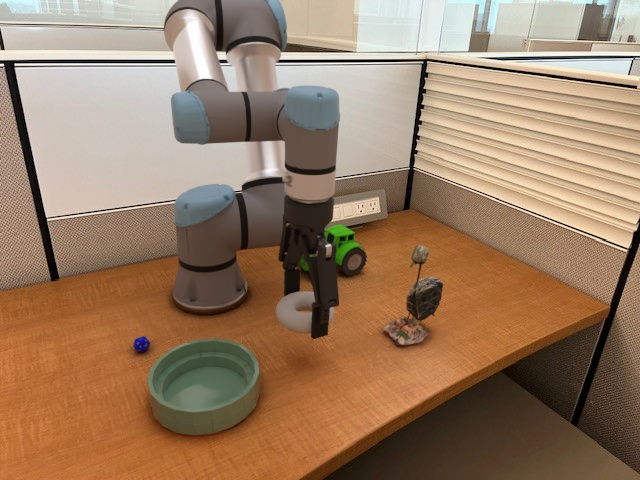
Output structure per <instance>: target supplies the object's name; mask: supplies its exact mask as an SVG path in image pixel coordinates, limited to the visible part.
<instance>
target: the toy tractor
mask: <svg viewBox="0 0 640 480" xmlns="http://www.w3.org/2000/svg"><path fill="white" fill-rule="evenodd" d="M325 236H326V241H327V242H328V243H329V244H330V243H335V244H336V258H335V259H336V266H337V268H338V269H339V270H340V271H341V272H342V273H344V275H347V276H349V277H350V276H352V277H353V276H354V275H355V276H356V275H358V273H360V272H361V271H362V270H364V267H365V266H366V263H367V261H368V259H367V258H368V255H367V253H366V248H365V247H364V246H363V245H362V244H363V241H362V240H361V239H359V240H358V243H357V242H355V241H356V232H355V231H353V230H351V229H350V228H348V227H346V226H345V225H343V224H341V223H339V224H336V225H331V226H330V227H328V228H327V229H326V228H325ZM315 256H317V254H313V255H310V257H315ZM300 263H301V265H300V267H298V268H299V269H300V270H301V271H304V272H305V271H306V272H308V275H310V272H309V267H308V264H307V263H306V262H305V261H304V257H303V256H302V258H301V260H300Z"/></svg>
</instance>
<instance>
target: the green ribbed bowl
mask: <svg viewBox="0 0 640 480" xmlns="http://www.w3.org/2000/svg"><path fill="white" fill-rule="evenodd" d="M260 383H261V382H260V365H259V360H258V359H257V357H256V356H255V354H254V352H253V351H252V350H250V349H249V348H248V347H246V346H245V345H244V344H241V343H238V342H235V341H233V340H230V339H223V338H215V337H214V338H200V339H195V340H192V341H187V342H184V343H181V344H180V345H177V346H175V347H172V348H171V349H169V350H166V352H165V353H163V354H162V355H161V356H160V357H159V358H157V359H156V360H155V362H154V364H153V365H152V366H151V368H150V370H149V371H148V376H147V381H146V385H147V392H148V398H149V399H148V400H149V405H150V409H151V413H152V416H153V418H155V420H156V421H157V422H158V423H159V424H160V425H161V426H162V427H163V428H166V429H168V430H169V431H172V432H174V433H175V434H182V435H188V436H189V435H190V436H202V435H213V434H216V433H219V432H222V431H225V430H227V429H228V430H229V429H231V428H233V427H235V426H236V425H238V424H239V423H240V422H242V421H243V420H245V419H246V418H247V417H248V416H249V415H250V414H251V412H252V411H254V409H255V408H256V406H257V403H258V401H259V397H260V395H261V390H260V389H261V388H260Z"/></svg>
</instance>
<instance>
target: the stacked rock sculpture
mask: <svg viewBox="0 0 640 480" xmlns="http://www.w3.org/2000/svg"><path fill="white" fill-rule="evenodd" d="M429 254H430V250H429V248H428V246H424V245H423V244H419V245H418V244H417V245H416V246H415V247H414V249H413V251H412V254H411V261H412V262H411V263H410V265H409V268H410V269H412V268H413V267H414V265H419V266H418V272H417V277H416V281H415V282H414V284H413V285H412V286H411V288H410V290H409V292H408V293H407V296H406V302H405V303H406V307H405V308H406V310H407V312H408V315H407V317H400V318H397V319H394V321H391V322H389V323H388V325H386V326H384V328H382V329H383V330H382V331H383V332H385V333H388V335H389V337H391V339H392V341H394V343H395V344H396V345H397V346H409V345H412V344H420V343H422V342H423V341H424V340H425V339H426V337H427V336H429V334H430V333H431V332H432V331H430V329H425V328H424V327H423V326H421V325H420V323H421V322H422V321H424V320H426V319H428V318H430V316H433V317H435V316H436V315H435V313H436V311H437V310H438V307H439V306H440V303H441V301H442V297H443V288H444V284H443V282H446V280H445V279H444V280H443V281H442V280H441V279H440V278H437V277H435V276H432V275H430V276H427V277H423V278H420V275H421V271H422V267H423V266H422V265H425V264H426V262H427V260H428V257H429ZM410 316H411V317H412V318H409V317H410ZM388 335H387V336H388Z"/></svg>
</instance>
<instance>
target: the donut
mask: <svg viewBox="0 0 640 480" xmlns="http://www.w3.org/2000/svg"><path fill="white" fill-rule="evenodd" d="M313 302H315V297H314V292H313V291H308V290H303V291H302V290H300V292H294V293H290V294H288V295H287V296H285V297H284V296H282V298H281V299H280V300H279V301H278V302H277V304H276V308H275V310H274V312H275V316H276V320H277V322H278V323H279V324H280V326H281V327H283V328H285V329H287V330H288V331H290V332H294V333H297V334H311V323H312V305H311V304H312V303H313ZM302 311H307V312H302ZM335 312H336V311H335V307H331V308H330V314H329V325H328V327H329V326H331V323H332V322H333V321H334V318H335Z"/></svg>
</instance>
